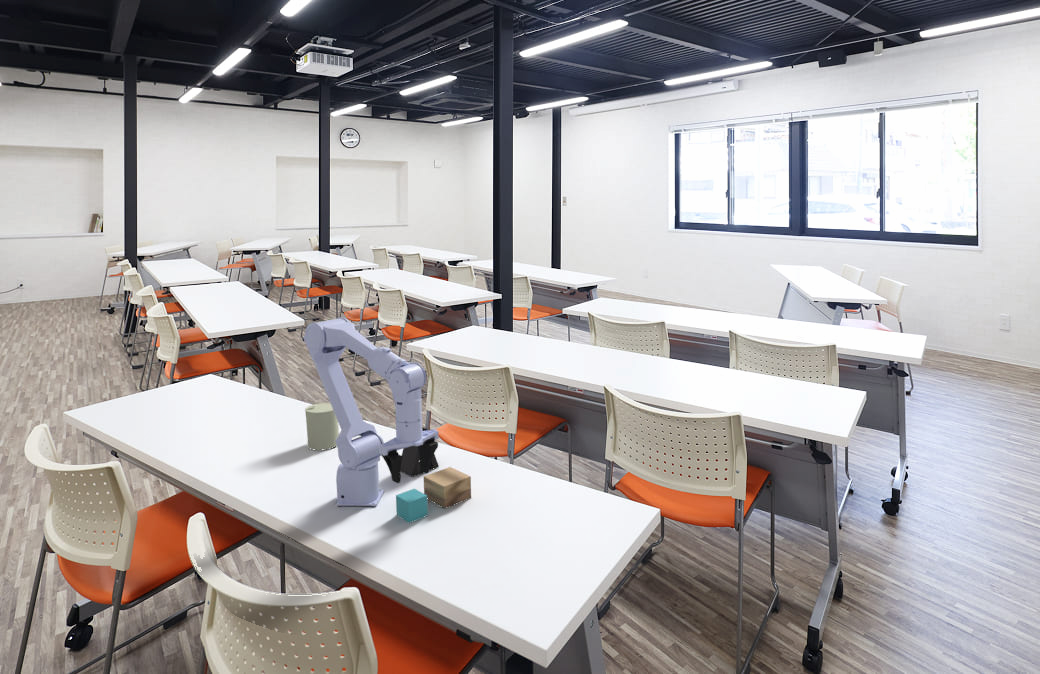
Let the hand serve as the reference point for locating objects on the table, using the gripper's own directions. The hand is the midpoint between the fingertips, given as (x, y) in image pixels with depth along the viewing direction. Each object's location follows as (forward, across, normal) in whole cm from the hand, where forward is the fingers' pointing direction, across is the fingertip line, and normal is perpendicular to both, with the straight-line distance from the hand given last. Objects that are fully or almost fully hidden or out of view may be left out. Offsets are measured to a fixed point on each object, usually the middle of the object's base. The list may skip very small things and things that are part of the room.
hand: (410, 476), depth 138 cm
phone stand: (+10, +16, +20) cm, 28 cm away
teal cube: (+10, 0, 0) cm, 10 cm away
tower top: (+7, +11, +2) cm, 13 cm away
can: (+10, +6, +54) cm, 56 cm away
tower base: (+10, +11, +1) cm, 15 cm away
